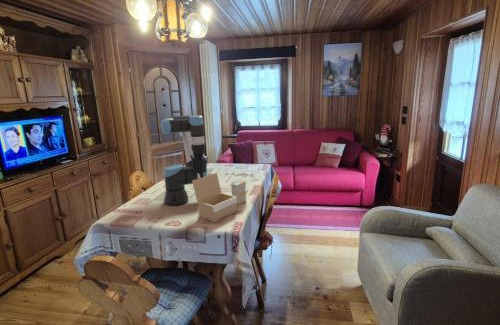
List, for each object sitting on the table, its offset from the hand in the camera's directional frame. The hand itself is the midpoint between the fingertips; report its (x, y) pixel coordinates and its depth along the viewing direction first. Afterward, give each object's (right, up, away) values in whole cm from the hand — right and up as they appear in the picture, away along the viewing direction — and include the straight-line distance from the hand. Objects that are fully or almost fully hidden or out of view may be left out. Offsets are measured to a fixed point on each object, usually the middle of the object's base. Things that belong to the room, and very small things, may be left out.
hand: (200, 183), depth 164 cm
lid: (+4, -1, -3) cm, 6 cm away
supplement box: (+22, -13, +12) cm, 28 cm away
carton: (+11, -17, -4) cm, 20 cm away
